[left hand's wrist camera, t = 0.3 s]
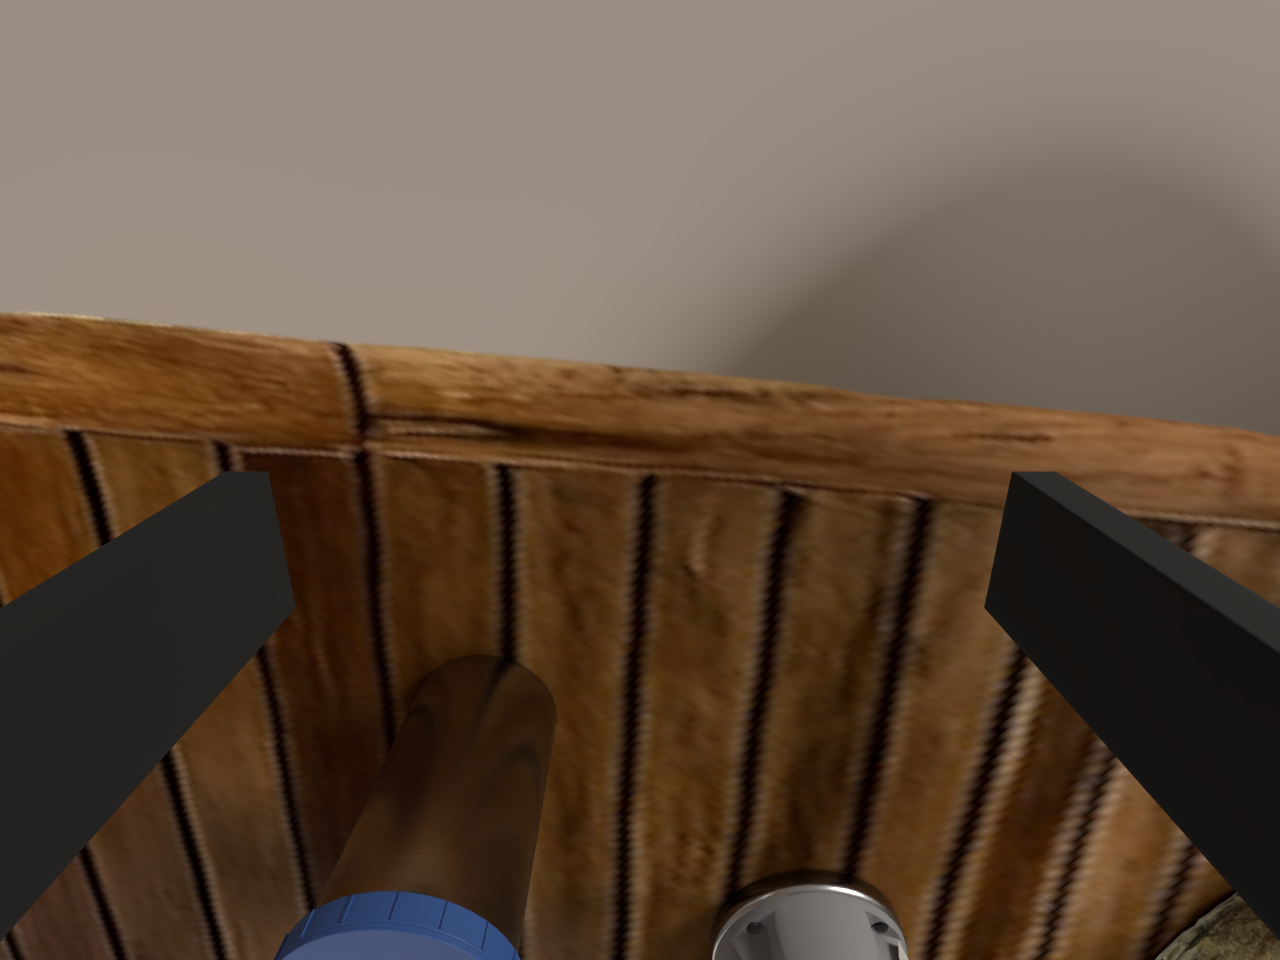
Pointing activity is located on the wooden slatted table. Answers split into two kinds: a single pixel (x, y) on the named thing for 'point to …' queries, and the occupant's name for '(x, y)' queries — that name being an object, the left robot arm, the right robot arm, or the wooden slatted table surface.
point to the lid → (394, 931)
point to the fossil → (1225, 936)
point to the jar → (459, 795)
